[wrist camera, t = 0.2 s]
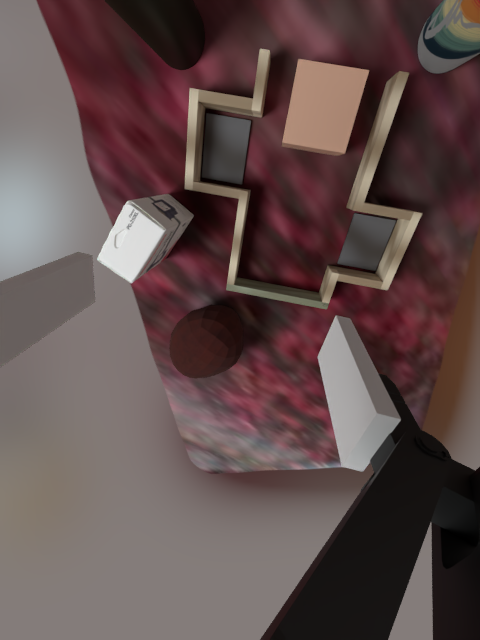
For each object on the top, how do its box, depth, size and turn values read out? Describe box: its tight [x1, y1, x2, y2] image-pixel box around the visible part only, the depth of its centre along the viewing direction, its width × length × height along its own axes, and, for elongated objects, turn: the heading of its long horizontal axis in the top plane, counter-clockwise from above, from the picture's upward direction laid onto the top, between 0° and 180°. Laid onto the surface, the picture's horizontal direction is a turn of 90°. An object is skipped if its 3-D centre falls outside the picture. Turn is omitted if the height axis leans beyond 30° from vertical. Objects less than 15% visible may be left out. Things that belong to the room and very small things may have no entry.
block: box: [282, 59, 369, 156], centre depth 30 cm, size 7×7×4 cm
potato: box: [170, 305, 243, 378], centre depth 43 cm, size 11×13×10 cm
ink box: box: [97, 194, 194, 283], centre depth 35 cm, size 8×5×12 cm, turn 142°
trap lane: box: [185, 49, 422, 309], centre depth 35 cm, size 26×29×4 cm
